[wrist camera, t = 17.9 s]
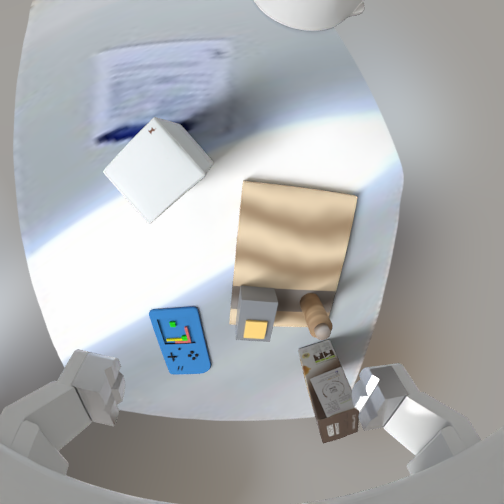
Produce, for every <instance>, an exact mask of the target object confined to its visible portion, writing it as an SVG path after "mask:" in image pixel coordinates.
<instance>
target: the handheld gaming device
mask: <svg viewBox="0 0 504 504" xmlns="http://www.w3.org/2000/svg"><path fill="white" fill-rule="evenodd" d="M149 316H150V319H151V322H152V325H153V328H154V331H155V334H156V337H157V340H158V343H159V345H160V348H161V351H162V354H163V356H164V359H165V362H166V364H167V367H168V369H169V372H170V373H171V374H200V373H205V372H207V371H208V370H209V369H210V365H211V363H210V359H209V355H208V351H207V347H206V343H205V338H204V334H203V330H202V326H201V321H200V317H199V312H198V309H197V308H196V307H180V308H166V309H152V310H150V312H149Z"/></svg>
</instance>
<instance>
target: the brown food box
mask: <svg viewBox="0 0 504 504" xmlns="http://www.w3.org/2000/svg"><path fill="white" fill-rule="evenodd" d="M298 352H299V357H300V361H301V365H302V369H303V374H304V378H305V382H306V385H307V389H308V393H309V396H310V400H311V403H312V407H313V410H314V414H315V417H316V421H317V425H318V428H319V431H320V435H321V438H322V442H323V443H326V442H330V441H333V440H336V439H340V438H343V437H345V436H347V435H350V434H353V433H355V432H357V431H358V420H359V418H358V416H359V411H358V410H357V409H356V408H354V405H353V403H352V390H351V387H350V385H349V383H348V380H347V378H346V376H345V373H344V371H343V369H342V366H341V364H340V362H339V359H338V357H337V355H336V353H335V350H334V348H333V346H332V344H331V341H330V340H326V341H323V342H320V343H317V344H313V345H310V346H307V347H304V348H300V349H299V350H298Z"/></svg>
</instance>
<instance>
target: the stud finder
mask: <svg viewBox="0 0 504 504" xmlns="http://www.w3.org/2000/svg"><path fill="white" fill-rule="evenodd" d="M277 306H278V300H277V296H276V293H275V289H274V288H266V287H254V286H242V285H241V286H240V293H239V301H238V308H237V316H236V340H247V341H265V342H270V338H271V334H272V329H273V325H274V320H275V315H276V311H277Z"/></svg>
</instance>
